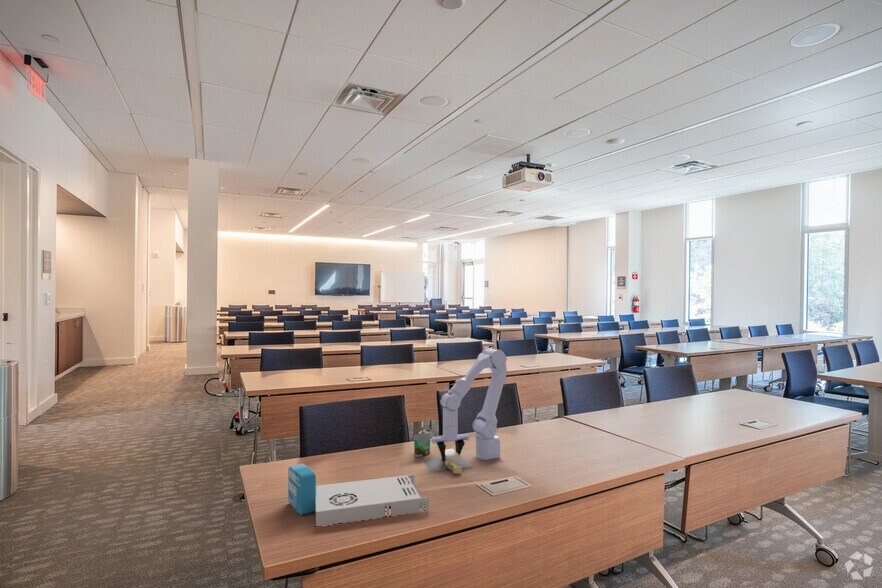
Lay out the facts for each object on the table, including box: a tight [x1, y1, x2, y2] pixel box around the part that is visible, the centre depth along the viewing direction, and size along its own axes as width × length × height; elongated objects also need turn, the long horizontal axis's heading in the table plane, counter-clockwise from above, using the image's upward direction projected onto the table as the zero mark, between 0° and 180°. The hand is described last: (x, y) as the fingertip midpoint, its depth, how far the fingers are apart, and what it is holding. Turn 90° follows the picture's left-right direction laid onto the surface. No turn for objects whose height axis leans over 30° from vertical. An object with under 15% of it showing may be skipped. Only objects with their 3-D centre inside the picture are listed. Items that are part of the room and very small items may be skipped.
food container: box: [413, 426, 433, 458], centre depth 190 cm, size 12×6×10 cm, turn 168°
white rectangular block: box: [440, 448, 461, 466], centre depth 179 cm, size 5×9×4 cm, turn 16°
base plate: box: [421, 455, 472, 473], centre depth 178 cm, size 16×14×1 cm
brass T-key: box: [445, 459, 463, 474], centre depth 170 cm, size 8×3×3 cm, turn 31°
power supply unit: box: [314, 474, 430, 526], centre depth 145 cm, size 19×33×5 cm, turn 107°
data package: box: [287, 463, 317, 516], centre depth 143 cm, size 12×4×12 cm, turn 37°
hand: (450, 460), depth 179 cm, fingers closed on white rectangular block, 5 cm apart
